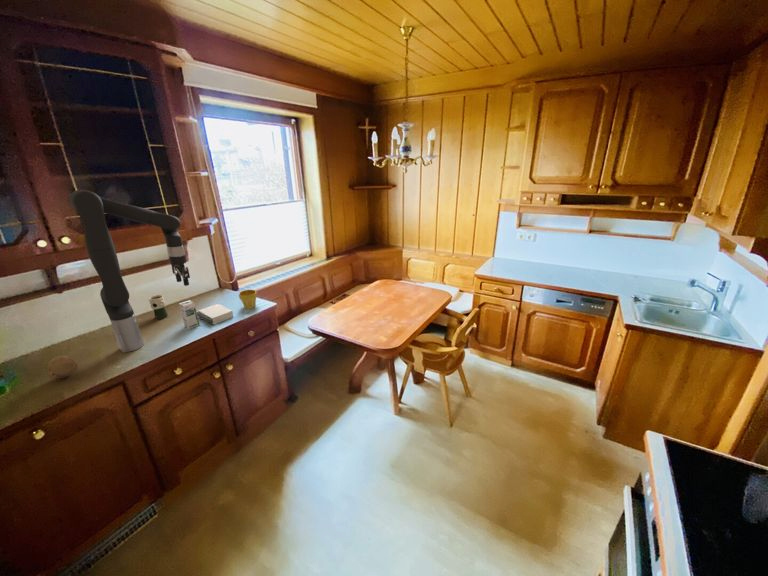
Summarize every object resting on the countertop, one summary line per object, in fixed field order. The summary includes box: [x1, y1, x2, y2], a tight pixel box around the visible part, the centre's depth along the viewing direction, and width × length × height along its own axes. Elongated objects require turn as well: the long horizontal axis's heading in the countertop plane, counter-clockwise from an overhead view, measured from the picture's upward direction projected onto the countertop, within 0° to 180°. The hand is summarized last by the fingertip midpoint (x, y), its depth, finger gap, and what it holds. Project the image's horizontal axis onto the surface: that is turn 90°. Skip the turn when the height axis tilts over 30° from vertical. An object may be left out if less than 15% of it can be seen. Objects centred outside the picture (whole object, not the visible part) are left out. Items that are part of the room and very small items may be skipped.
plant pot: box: [238, 289, 258, 309], centre depth 200 cm, size 10×10×10 cm
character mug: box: [148, 294, 168, 320], centre depth 184 cm, size 11×7×13 cm, turn 68°
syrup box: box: [178, 299, 200, 330], centre depth 175 cm, size 6×6×14 cm
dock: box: [196, 303, 234, 325], centre depth 187 cm, size 13×16×4 cm
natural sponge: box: [46, 355, 79, 379], centre depth 134 cm, size 9×9×10 cm
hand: (183, 283), depth 169 cm, fingers open, 8 cm apart
